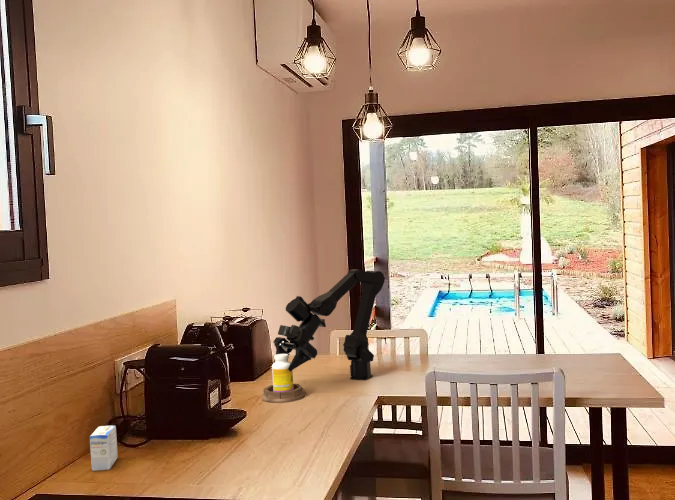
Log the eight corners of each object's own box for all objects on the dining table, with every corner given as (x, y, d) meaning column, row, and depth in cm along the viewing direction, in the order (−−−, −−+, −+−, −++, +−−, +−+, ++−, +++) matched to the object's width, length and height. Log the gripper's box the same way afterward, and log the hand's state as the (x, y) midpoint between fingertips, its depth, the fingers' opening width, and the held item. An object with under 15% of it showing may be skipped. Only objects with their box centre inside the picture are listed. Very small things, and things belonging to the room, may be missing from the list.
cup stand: (312, 392, 225) (311, 383, 225) (291, 404, 212) (291, 394, 212) (275, 390, 231) (275, 381, 231) (253, 401, 218) (253, 392, 218)
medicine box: (100, 460, 170) (97, 426, 170) (118, 458, 170) (115, 424, 170) (91, 471, 162) (88, 435, 162) (110, 469, 163) (107, 434, 162)
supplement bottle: (294, 395, 219) (292, 355, 218) (274, 397, 218) (271, 357, 217) (292, 390, 225) (290, 352, 225) (272, 392, 224) (270, 354, 224)
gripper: (276, 313, 231) (250, 350, 225) (307, 317, 216) (280, 357, 210) (296, 332, 236) (272, 369, 230) (328, 338, 221) (303, 378, 215)
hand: (281, 368), depth 221 cm, fingers open, 9 cm apart
